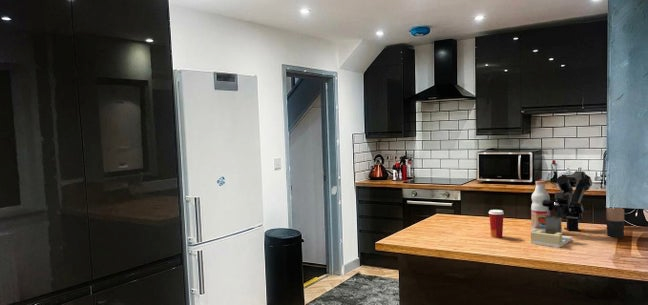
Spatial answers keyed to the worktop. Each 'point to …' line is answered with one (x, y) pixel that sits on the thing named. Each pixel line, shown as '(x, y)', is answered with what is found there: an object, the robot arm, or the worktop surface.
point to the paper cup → (496, 223)
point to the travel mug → (615, 222)
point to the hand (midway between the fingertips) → (558, 219)
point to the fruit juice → (539, 207)
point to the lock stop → (553, 225)
